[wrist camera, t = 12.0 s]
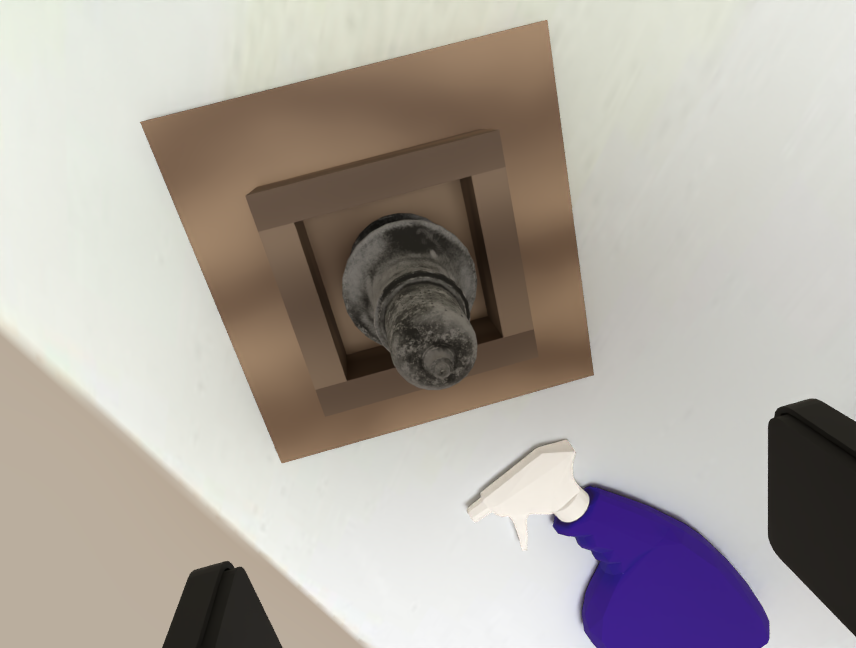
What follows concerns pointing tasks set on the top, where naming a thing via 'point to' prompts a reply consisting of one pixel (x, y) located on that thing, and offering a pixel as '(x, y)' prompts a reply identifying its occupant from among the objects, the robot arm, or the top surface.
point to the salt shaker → (414, 297)
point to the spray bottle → (632, 561)
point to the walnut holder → (367, 202)
